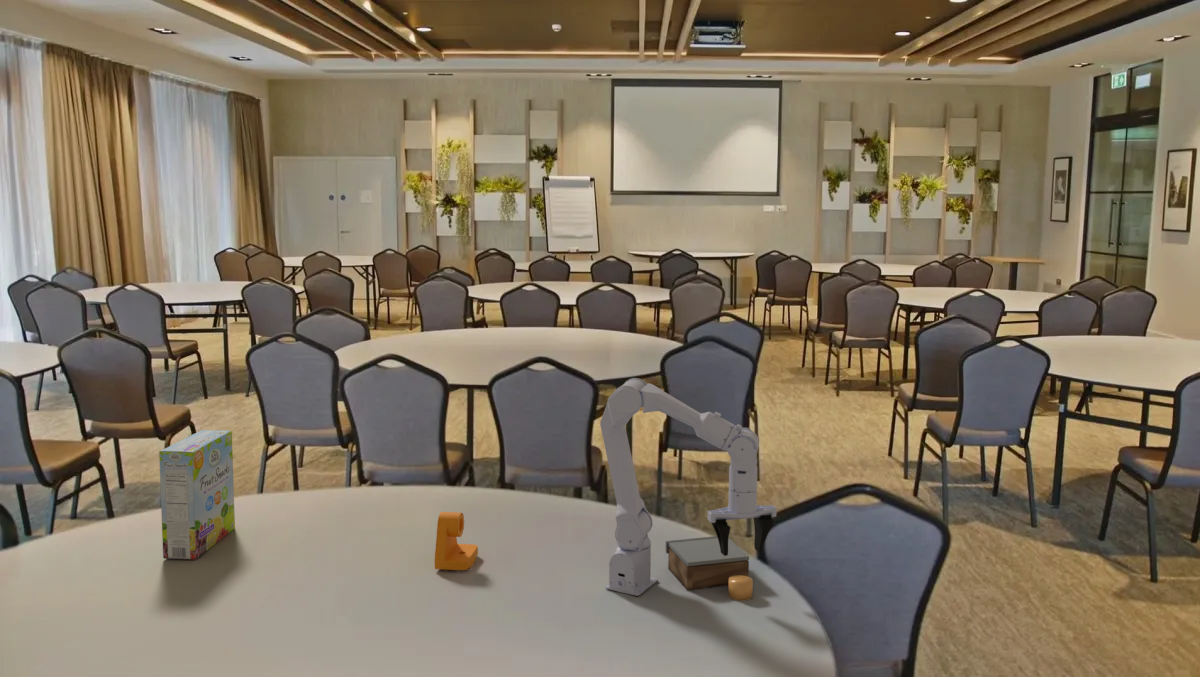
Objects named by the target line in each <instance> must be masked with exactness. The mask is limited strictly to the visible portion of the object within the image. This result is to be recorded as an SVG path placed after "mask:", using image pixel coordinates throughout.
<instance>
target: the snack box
mask: <svg viewBox="0 0 1200 677" xmlns="http://www.w3.org/2000/svg"><path fill="white" fill-rule="evenodd" d="M232 433H233V432H232V431H231V430H225V429H224V430H222V429H219V430H218V429H217V430H211V429H209V430H208V429H206V430H205V429H201V430H200V431H197V432H196V433H193V434H191V435H189V436H187V437H185V438H183V439H181V440H180V441H177V442H175V443H174V444H172V445H171V444H170V445H169V446H167V447H166V448H163V449H161V450H159V454H158V456H159V458H158V460H159V480H160V483H159V484H160V485H159V486H160V504H161V505H160V506H161V507H160V508H161V510H160V511H161V537H162V558H163V560H164V559H167V560H170V559H171V560H193V561H194V560H197V559H198V558H200V557H201V556H202V555H203V554H205V553H206V552H207V551H208V550H210V549H211V548H212V547H213V546H215V545H216V544H217V543H219V542H220V541H221V540H222V539H224V538H225V537H226V536H228V535H229V534H230V533H232V532H233V531H234V530H235V529H236V523H235V522H236V521H235V520H236V519H235V518H236V517H235V515H236V514H235V493H234V492H235V488H234V463H233V462H234V459H233V437H232V436H233V434H232Z"/></svg>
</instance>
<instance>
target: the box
mask: <svg viewBox="0 0 1200 677" xmlns="http://www.w3.org/2000/svg"><path fill="white" fill-rule="evenodd" d="M667 560H668V565H667V567H668V570H669V571H670V573H672V575H673V576H674V577H675V578H676V579H677V580H678V581H679V583H680V584H681V585H682V587H683V588H684V589H685V590H686V591H691V590H692V591H693V590H700V589H709V588H718V587H720V588H721V587H726V586H727V587H728V582H729V577H731V576H735V575H743V576H748V577H749V571H750V570H749V569H750V567H749V566H750V563H749V562H750V561H749V560H743V561H733V562H724V563H715V564H705V565H696V566H687V565H686V564H685V563H684V562H683V561H682V560H681V559H680V558H679V557H678V556H677V555H676V554H675V552H674V551H673V550H672V549H671V548H670V547H669V553H668V559H667Z"/></svg>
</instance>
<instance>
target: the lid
mask: <svg viewBox="0 0 1200 677" xmlns="http://www.w3.org/2000/svg"><path fill="white" fill-rule="evenodd" d="M669 547H670V548H671V549H672V550H673V551H674V552H675V554H676V555H677V556H678V557H679V558H680V559H681V560H682V561H683V562H684V563H685V564H686V565H687V566H696V565H705V564H715V563H724V562H733V561H743V560H748V561H749V560H750V556H749V555H748V554H747V553H746V552H745V551H744V550H743V549H742V548H740V547H739V546H738V545H737V544H736V543H734V542H733V541H732V540H731V539H730V538H728V556H724V555H723V554H722V553H721V550H720V545H719V541H718V537H717V535H715V536H712V535H711V536H704V537H694V538H693V537H692V538H684V539H674V540H673V539H672V540H666V541H665V554H668V555H669Z"/></svg>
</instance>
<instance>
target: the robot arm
mask: <svg viewBox="0 0 1200 677" xmlns="http://www.w3.org/2000/svg"><path fill="white" fill-rule="evenodd" d="M641 408H642V413H644V414H646V413H655V412H661V413H662V414H664V415H667V416H669V417H670V418H673V419H675V420H677V421H679V422H681V423H683V424H685V425H686V426H689V427H692V428H693V429H694V432H695V435H696V437H698V438H700V439H701V440H703V441H705V442H707V443H709V444H710V445H713V446H714V447H716V448H718V449H720V450H721V451H726V452H727V454H728V457H729V458H730V464H729V467H728V473H729V474H728V504H727V505H728V506H725V507H721V508H717V509H713V510H707V521H708V522H709V523H710V524H711V525H712V528H713V530H714V531H715V534H716V535H715V536H717V537H718V541H719V545H720V550H721V553H722V554H723V555H724V556H728V538H729V536H730V531H731V526H729V525H728V522H727V521H733V520H743V519H744V520H745V519H753V526H754V541H753V542H754V550H756V551H757V552H758V553H762V552H763V549H764V544H765V542H766V539H767V537H768V535H769V532H770V531H771V528H772V527H773V526H774V523H775V520H774V519H773V518H777V507H776V506H774V505H772V504H771V505H770V504H769V505H765V504H763V505H760V504H758V503H757V502H758V500H757V495H758V466H757V464H758V456H757V454H758V449H759V447H760V446H759V445H760V439H759V437H758V435H757V434H756V433H755V431H753V430H752V429H750V428H749V427H743V426H742V425H741V424H739V423H738V424H734V423H732V422H731V421H728V420H727V419H725V418H723V417H721V416H722V413H720V412H717V411H715V412H714V413H713V412H712V411H707V412H703V413H702V412H699V411H698V410H697V409H696V410H695V409H694V408H692V407H690V406H689V405H687V404H685V402H682V401H681V400H679V399H677V398H675V397H674V396H673V395H671V394H669V393H667V392H665V391H664V390H662V389H661V388H659V387H658V386H656V385H654V384H653V383H649V382H648V383H647V382H646V381H644V380H643V379H641V378H639V377H638V378H636V377H633V378H629V379H627V380H626V381H625V382H624V383H623V384H622V385H621V386H618V387H617V388H616V389H615V390H614V391H613V392H612V393H611V395H609V397H608V398H607V403H606V406H605V408H604V411H603V414H602V417H601V420H600V422H599V423H600V424H599V425H600V426H599V427H600V431H601V435H602V440H603V445H604V449H605V454H606V459H607V464H608V468H609V473H610V477H611V482H612V487H613V491H614V492H613V493H614V497H615V501H616V510H615V520H616V526H615V530H614V536H615V537H614V538H615V541H616V549H615V552H614V554H613V555H611V558H610V560H609V562H608V563H609V564H608V566H609V571H608V572H609V573H608V574H609V577H608V580H609V582H608V584H607V585H605V589H606V590H611V591H616V592H619V593H623V594H628V595H632V596H637V597H638V596H640V595H642V594H643V593H644V592H645V591H647V590H648V589H650V587H652V586H653V585H654V584H655V583H657V582H658V581H659V579H658V577H653V576H651V562H652V561H651V560H652V558H651V557H652V556H651V553H652V552H651V544H652V542H651V539H650V537H649V532H650V531H651V530H652V527H653V518H652V515H651V514H650V512H649V511H648V509H647V508H646V505H645V502H644V500H643V498H642V497H641V496H640V490H639V487H638V480H637V475H636V472H635V467H634V462H633V458H632V452H631V447H630V443H629V442H630V441H629V438H628V432H627V427H626V426H627V424H628V423H629V421H630V419H631V418H632V417H633V416H634V415H636V414H637V413H638V412H639V411H640V410H641ZM729 539H730V538H729Z"/></svg>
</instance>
